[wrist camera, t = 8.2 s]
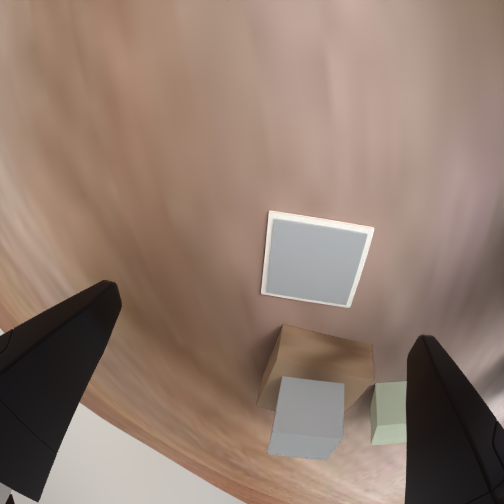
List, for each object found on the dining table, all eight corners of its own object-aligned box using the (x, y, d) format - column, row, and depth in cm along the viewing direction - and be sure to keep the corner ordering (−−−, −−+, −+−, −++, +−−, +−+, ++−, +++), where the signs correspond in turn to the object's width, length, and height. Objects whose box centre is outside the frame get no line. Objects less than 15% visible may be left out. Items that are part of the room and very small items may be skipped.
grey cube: (344, 383, 23) (342, 438, 18) (330, 411, 25) (326, 460, 21) (282, 376, 23) (272, 431, 19) (276, 405, 26) (267, 453, 22)
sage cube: (421, 378, 26) (428, 420, 22) (412, 402, 29) (416, 440, 25) (375, 382, 28) (377, 425, 24) (370, 406, 30) (370, 445, 26)
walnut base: (371, 342, 25) (374, 379, 22) (337, 389, 30) (336, 421, 26) (283, 321, 25) (276, 359, 22) (263, 372, 30) (255, 406, 27)
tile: (374, 227, 19) (375, 230, 19) (349, 306, 23) (350, 309, 22) (269, 210, 20) (268, 213, 20) (261, 292, 24) (260, 295, 23)
